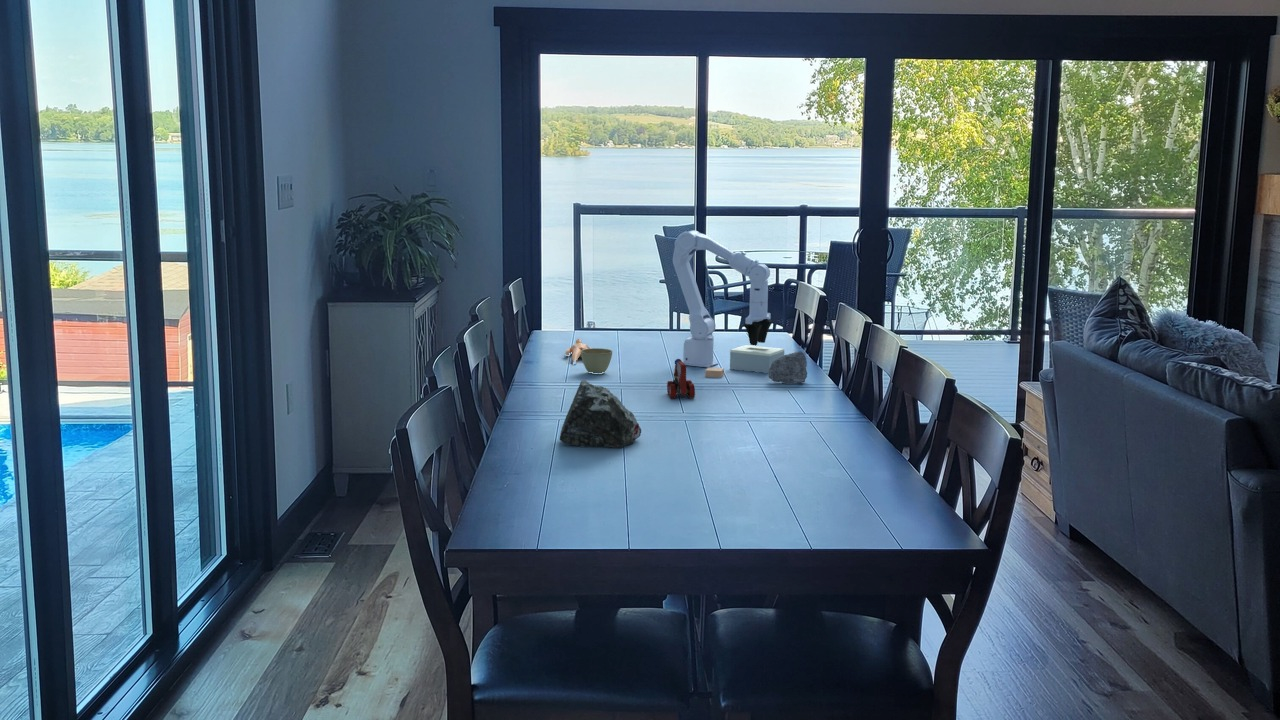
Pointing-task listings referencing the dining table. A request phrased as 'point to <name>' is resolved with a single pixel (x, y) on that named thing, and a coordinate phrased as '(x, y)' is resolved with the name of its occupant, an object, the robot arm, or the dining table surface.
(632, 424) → the stone
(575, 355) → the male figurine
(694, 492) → the dining table surface
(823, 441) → the dining table surface
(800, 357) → the rock
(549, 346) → the dining table surface
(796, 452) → the dining table surface
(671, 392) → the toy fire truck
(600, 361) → the flower pot
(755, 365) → the box
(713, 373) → the block
